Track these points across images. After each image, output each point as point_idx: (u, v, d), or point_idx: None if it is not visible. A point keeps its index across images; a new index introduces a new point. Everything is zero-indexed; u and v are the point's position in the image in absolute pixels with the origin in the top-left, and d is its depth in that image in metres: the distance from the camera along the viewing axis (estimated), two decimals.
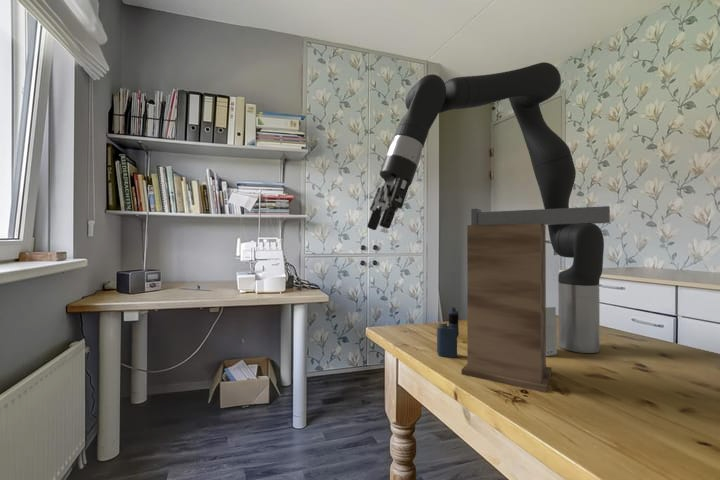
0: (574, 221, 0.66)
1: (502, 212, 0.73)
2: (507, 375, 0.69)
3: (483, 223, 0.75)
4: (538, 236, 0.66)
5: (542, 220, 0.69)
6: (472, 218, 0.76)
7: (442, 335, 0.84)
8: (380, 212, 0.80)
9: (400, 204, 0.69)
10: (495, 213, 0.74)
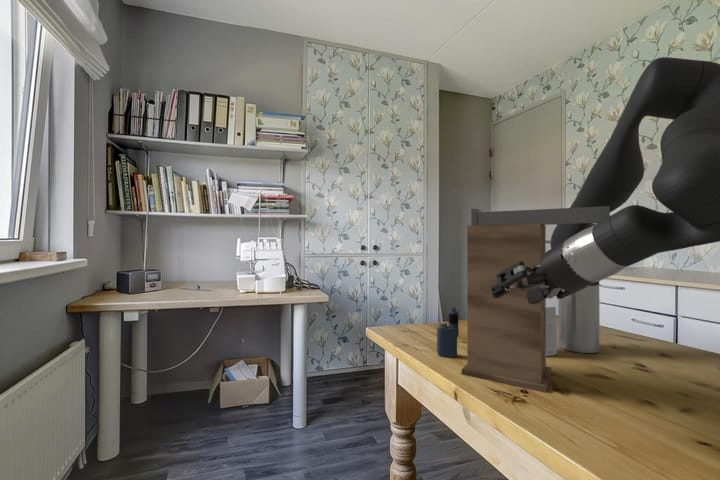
0: (574, 221, 0.66)
1: (502, 212, 0.73)
2: (507, 375, 0.69)
3: (483, 223, 0.75)
4: (538, 236, 0.66)
5: (542, 220, 0.69)
6: (472, 218, 0.76)
7: (442, 335, 0.84)
8: None
9: None
10: (495, 213, 0.74)
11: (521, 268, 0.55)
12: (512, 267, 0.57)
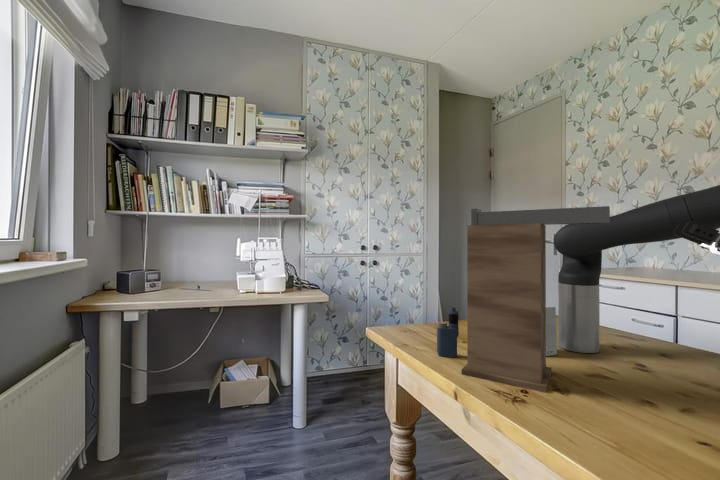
0: (574, 221, 0.66)
1: (502, 212, 0.73)
2: (507, 375, 0.69)
3: (483, 223, 0.75)
4: (538, 236, 0.66)
5: (542, 220, 0.69)
6: (472, 218, 0.76)
7: (442, 335, 0.84)
8: None
9: None
10: (495, 213, 0.74)
11: None
12: None
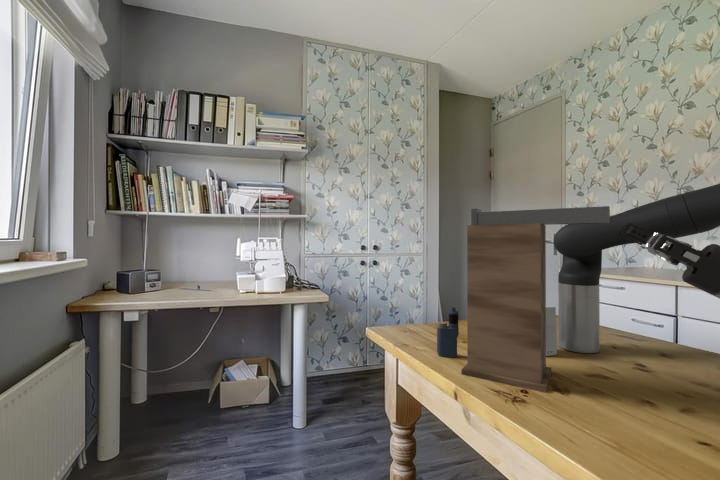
0: (574, 221, 0.66)
1: (502, 212, 0.73)
2: (507, 375, 0.69)
3: (483, 223, 0.75)
4: (538, 236, 0.66)
5: (542, 220, 0.69)
6: (472, 218, 0.76)
7: (442, 335, 0.84)
8: None
9: None
10: (495, 213, 0.74)
11: (697, 259, 0.53)
12: (690, 249, 0.53)
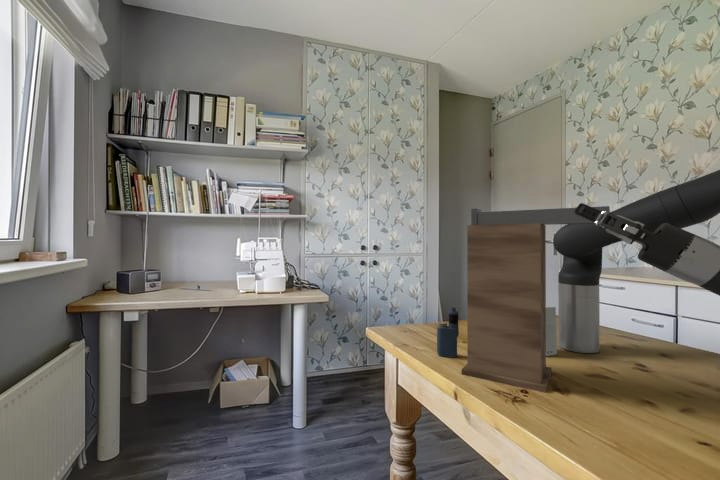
0: (574, 221, 0.66)
1: (502, 212, 0.73)
2: (507, 375, 0.69)
3: (483, 223, 0.75)
4: (538, 236, 0.66)
5: (542, 220, 0.69)
6: (472, 218, 0.76)
7: (442, 335, 0.84)
8: None
9: None
10: (495, 213, 0.74)
11: (635, 231, 0.57)
12: (628, 222, 0.58)
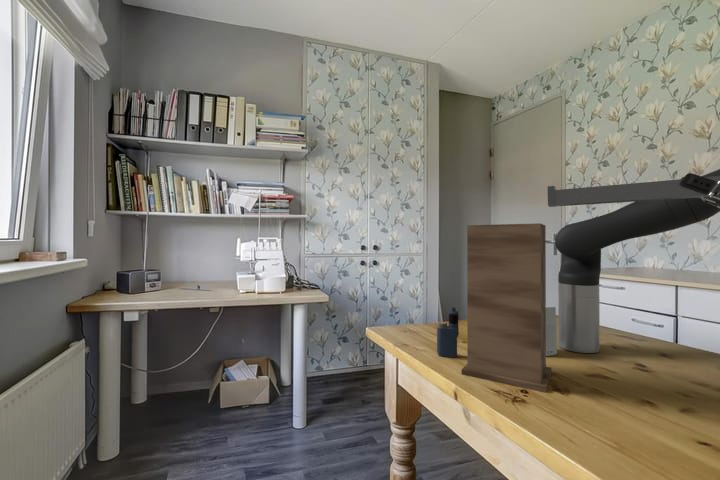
0: (680, 194, 0.57)
1: (586, 188, 0.65)
2: (507, 375, 0.69)
3: (562, 201, 0.67)
4: (538, 236, 0.66)
5: (638, 196, 0.60)
6: (549, 197, 0.68)
7: (442, 335, 0.84)
8: None
9: None
10: (577, 190, 0.66)
11: None
12: None
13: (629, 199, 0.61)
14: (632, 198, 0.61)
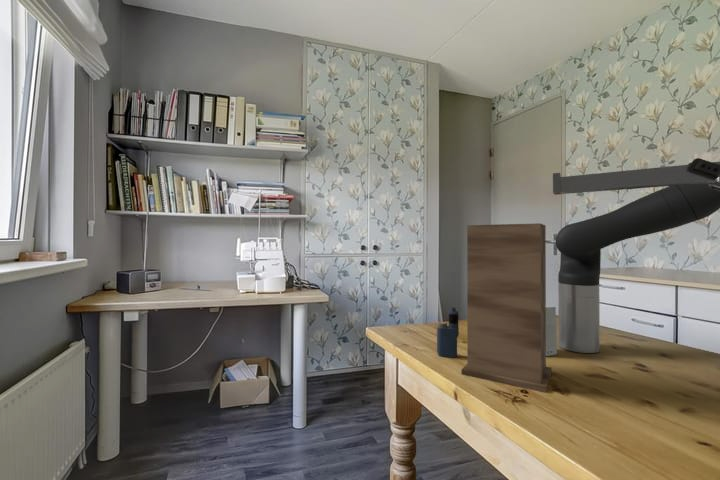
0: (687, 180, 0.57)
1: (592, 175, 0.64)
2: (507, 375, 0.69)
3: (567, 188, 0.66)
4: (538, 236, 0.66)
5: (644, 182, 0.60)
6: (554, 184, 0.67)
7: (442, 335, 0.84)
8: None
9: None
10: (583, 177, 0.65)
11: None
12: None
13: (635, 185, 0.61)
14: (638, 184, 0.60)
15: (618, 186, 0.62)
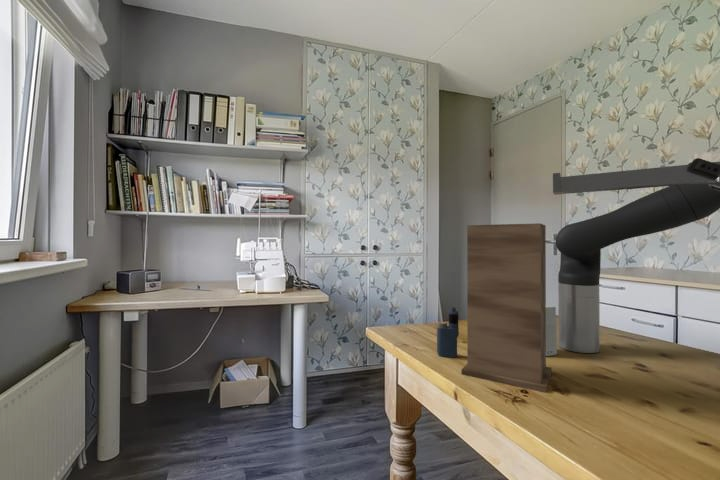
0: (687, 180, 0.57)
1: (592, 175, 0.64)
2: (507, 375, 0.69)
3: (567, 188, 0.66)
4: (538, 236, 0.66)
5: (644, 182, 0.60)
6: (554, 184, 0.67)
7: (442, 335, 0.84)
8: None
9: None
10: (583, 177, 0.65)
11: None
12: None
13: (635, 185, 0.61)
14: (638, 184, 0.60)
15: (618, 186, 0.62)
